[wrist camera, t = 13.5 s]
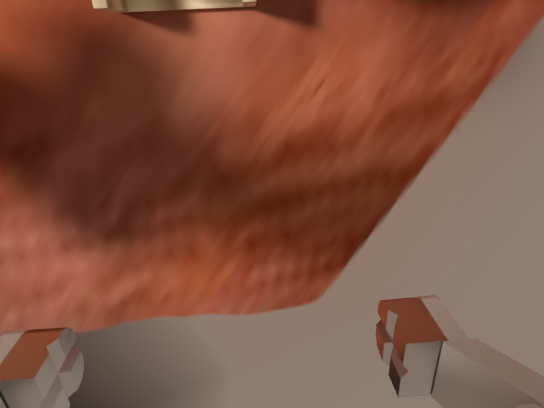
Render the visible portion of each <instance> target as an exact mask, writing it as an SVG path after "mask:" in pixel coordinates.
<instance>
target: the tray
mask: <svg viewBox="0 0 544 408" xmlns="http://www.w3.org/2000/svg"><path fill="white" fill-rule="evenodd" d="M92 4H93V8H94V9H101V10H107V11H113V12H119V13H121V12H144V11H167V10H190V9H213V8H237V7H255V5H256V0H92Z"/></svg>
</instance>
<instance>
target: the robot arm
mask: <svg viewBox="0 0 544 408" xmlns="http://www.w3.org/2000/svg"><path fill="white" fill-rule="evenodd" d="M378 314H379V316H380V318H381V320H380V321H379V323H378V324H377V325H376V342H377V347H378V351H379V354H380V356H381V359H382V361H384V362H385V363H386V364H388V365H389V374H388V375H389V377H390V380H391V382H392V384H393V387H394V389H395V391H396V393H397V396H398V397H411V396H426V395H432V398H433V399H434V400H436V401H437V402H438V403H439V404H440V405H441V406H442V407H444V408H544V376H542V375H540V374H538V373H537V372H535V371H533V370H532V369H530V368H528V367H526V366H524V365H522V364H521V363H519V362H517V361H515V360H513V359H512V358H510V357H508V356H506V355H504V354H503V353H501V352H499V351H497V350H496V349H494V348H492V347H490V346H488V345H486V344H485V343H483V342H481V341H479V340H477V339H470V338H469V337H468V336H467V334H466V333H465V332H464V330H463V329H462V328H461V326H460V325H459V324H458V322H457V321H456V320H455V318H454V317H453V316H452V314H451V313H450V311H449V310H448V309H447V308H446V306H445V305H444V303H443V302H442V301H441V300H440V298H439V297H438V296H436V295H429V296H419V297H413V298H402V299H393V300H381V301H380V302H379V305H378ZM75 339H76V337H75V335H74V332H73V330H72V329H71V328H68V327H65V328H49V329H33V330H24V331H9V332H7V333H5V334H3V335H2V336H1V337H0V408H69V407H70V403H69V401H68V397H69V396H70V395H72V393H74V392H75V391H76V390H77V389H78V387H79V384H80V382H81V380H82V375H83V369H84V363H83V357H82V354H81V351H80V350H78V349H77V348H75V347H74V346H73V343H74V341H75Z"/></svg>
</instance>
